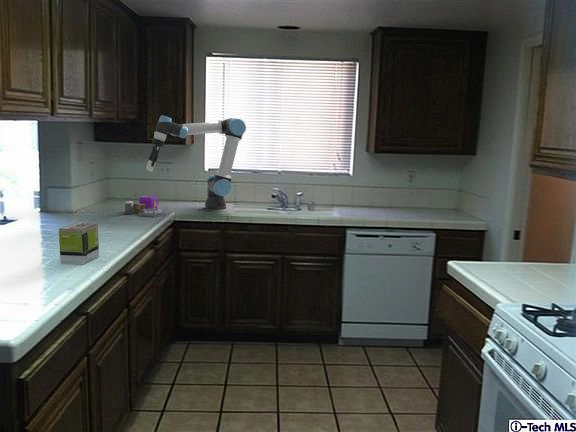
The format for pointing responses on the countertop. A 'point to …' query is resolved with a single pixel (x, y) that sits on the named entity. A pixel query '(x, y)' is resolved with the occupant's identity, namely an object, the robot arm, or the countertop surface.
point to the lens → (129, 208)
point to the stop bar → (138, 207)
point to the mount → (151, 212)
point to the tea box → (78, 243)
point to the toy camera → (149, 201)
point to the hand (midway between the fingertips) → (149, 170)
